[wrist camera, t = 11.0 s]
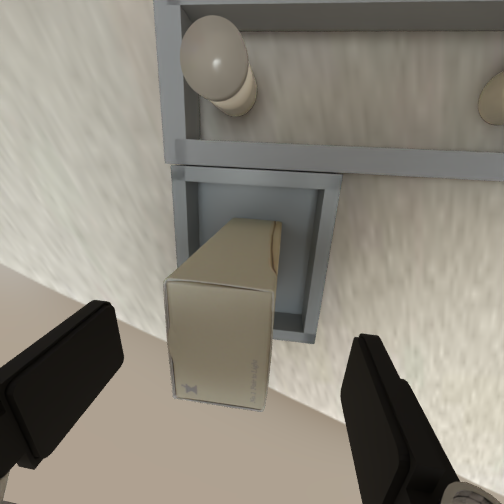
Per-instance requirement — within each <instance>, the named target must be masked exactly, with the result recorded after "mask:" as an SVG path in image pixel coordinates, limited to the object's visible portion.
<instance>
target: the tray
mask: <svg viewBox="0 0 504 504" xmlns="http://www.w3.org/2000/svg"><path fill="white" fill-rule="evenodd" d="M342 177H343V174H338V173H331V172H312V171H294V170H275V169H256V168H237V167H218V166H200V165H171V178H172V194H173V209H174V224H175V240H176V255H177V268H179V267H180V266H181V265H182V264H183V263H184V262H185V261H186V260H187V259H188V258H189V257H191V256H192V255H193V254H194V253H195V252H196V251H197V250H198V249H199V248H200V247H201V246H202V245H204V244H205V243H206V242H207V241H208V240H209V239H210V238H211V237H213V236H214V235H215V234H216V233H217V232H218V231H219V230H220V229H221V228H222V227H223V226H225V225H226V224H227V223H228V222H229V221H230V220H231V219H232V218H246V219H259V220H269V221H280V222H282V229H281V241H280V253H279V264H278V275H277V287H276V298H275V311H274V324H273V338H272V339H276V340H285V341H293V342H301V343H309V344H314V343H315V337H316V331H317V326H318V320H319V314H320V308H321V302H322V296H323V290H324V284H325V278H326V272H327V266H328V260H329V254H330V249H331V243H332V237H333V231H334V225H335V219H336V213H337V207H338V201H339V195H340V189H341V183H342Z"/></svg>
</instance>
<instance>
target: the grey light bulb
mask: <svg viewBox="0 0 504 504" xmlns="http://www.w3.org/2000/svg"><path fill="white" fill-rule="evenodd" d="M180 65H181V69H182V73H183V75H184V77H185V79H186V81H187V83H188V84H189V86H190V87H191V88H192V89H193V90H194V91H195V92H197V93H198V94H199V95H200V96H202V97H203V98H205V99H207V100H209V101H211V102H212V103H213V104H214V105H215V106H216V107H218V108H219V109H220V110H221V111H222V112H224V113H225V114H227V115H229V116H241V115H244V114H245V113H247V112H248V111H249V110H250V109H251V108H252V106H253V105H254V103H255V100H256V96H257V85H256V81H255V78H254V75H253V72H252V70H251V67H250V64H249V59H248V53H247V49H246V46H245V43H244V40H243V37H242V35H241V33H240V32H239V30H238V29H237V28H236V26H235V25H234V24H233V23H232V22H230V21H229V20H227V19H226V18H223V17H221V16H217V15H209V16H205V17H202V18H200V19H198V20H196V21H195V22H194V23H193V24H192V25H191V26H190V27H189V28H188V30H187V31H186V33H185V35H184V37H183V40H182V43H181V47H180Z"/></svg>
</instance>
